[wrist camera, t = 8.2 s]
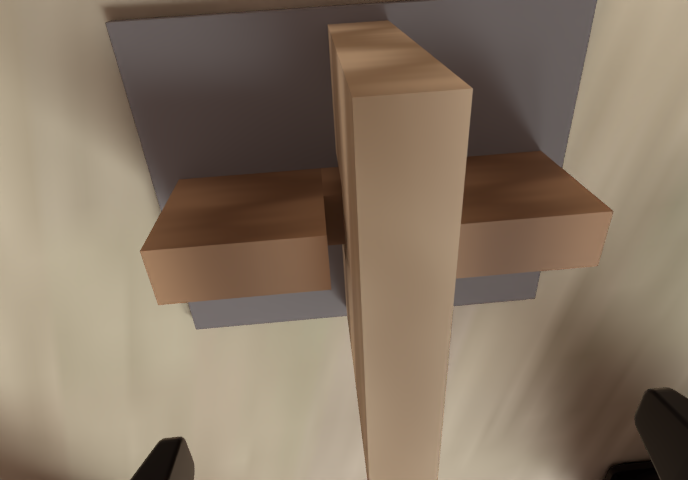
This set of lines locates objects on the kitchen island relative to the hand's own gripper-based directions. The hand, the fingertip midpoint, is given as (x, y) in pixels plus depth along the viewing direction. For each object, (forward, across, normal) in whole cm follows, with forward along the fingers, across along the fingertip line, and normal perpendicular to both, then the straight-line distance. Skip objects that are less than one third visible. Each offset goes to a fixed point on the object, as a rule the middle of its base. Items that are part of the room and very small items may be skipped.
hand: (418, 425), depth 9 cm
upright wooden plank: (+11, 0, 0) cm, 11 cm away
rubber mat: (+12, 0, 0) cm, 12 cm away
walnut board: (+11, 0, 0) cm, 11 cm away
